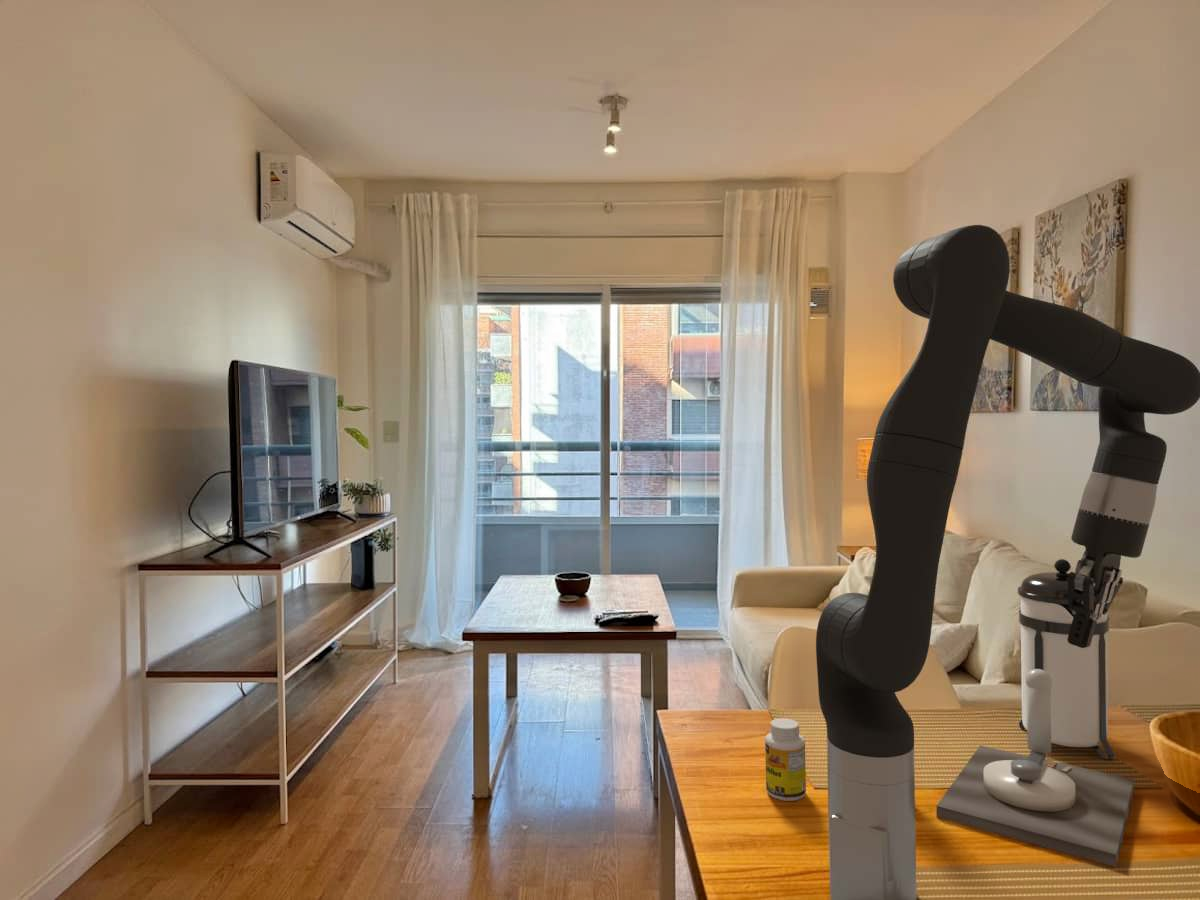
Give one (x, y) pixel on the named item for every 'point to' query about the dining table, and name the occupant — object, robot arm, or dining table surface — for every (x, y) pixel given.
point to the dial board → (1073, 831)
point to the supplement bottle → (785, 761)
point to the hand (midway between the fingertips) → (1078, 645)
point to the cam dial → (1032, 759)
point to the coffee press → (1065, 662)
